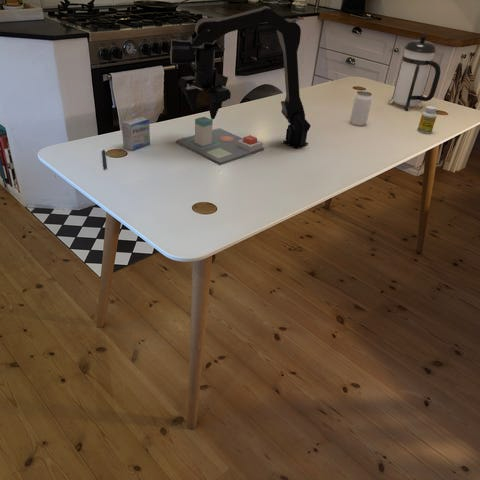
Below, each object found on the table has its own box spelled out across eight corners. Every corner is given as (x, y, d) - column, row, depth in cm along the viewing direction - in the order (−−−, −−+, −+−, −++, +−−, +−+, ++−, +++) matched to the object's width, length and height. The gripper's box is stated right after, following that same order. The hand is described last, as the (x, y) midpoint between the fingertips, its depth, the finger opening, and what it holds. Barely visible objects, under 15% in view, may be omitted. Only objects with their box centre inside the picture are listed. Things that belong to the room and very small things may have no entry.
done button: (256, 143, 154) (257, 138, 153) (249, 145, 152) (250, 140, 151) (249, 140, 156) (250, 135, 155) (243, 142, 154) (243, 137, 153)
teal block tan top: (211, 143, 155) (212, 120, 150) (202, 146, 152) (203, 122, 148) (203, 139, 157) (204, 116, 153) (194, 142, 154) (195, 119, 150)
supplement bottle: (429, 129, 184) (436, 105, 178) (433, 134, 179) (440, 110, 174) (415, 128, 184) (422, 104, 179) (418, 133, 179) (426, 108, 174)
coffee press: (387, 109, 203) (405, 35, 186) (388, 99, 216) (405, 29, 199) (428, 115, 199) (450, 41, 183) (427, 105, 212) (447, 34, 196)
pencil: (103, 171, 135) (101, 150, 147) (107, 170, 135) (105, 150, 147) (103, 168, 134) (101, 148, 146) (106, 168, 135) (104, 147, 146)
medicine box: (132, 151, 147) (130, 125, 142) (123, 147, 149) (120, 121, 144) (150, 144, 152) (149, 119, 148) (141, 141, 155) (139, 115, 150)
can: (365, 121, 187) (371, 91, 180) (367, 127, 181) (374, 96, 175) (349, 119, 187) (355, 90, 180) (350, 125, 182) (356, 94, 175)
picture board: (264, 149, 155) (264, 142, 154) (220, 164, 143) (220, 157, 141) (219, 130, 168) (219, 123, 166) (175, 142, 155) (175, 135, 154)
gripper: (245, 68, 140) (241, 118, 149) (204, 55, 151) (203, 103, 160) (218, 73, 134) (215, 125, 142) (177, 59, 144) (177, 108, 153)
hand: (203, 115), depth 149 cm, fingers open, 9 cm apart
